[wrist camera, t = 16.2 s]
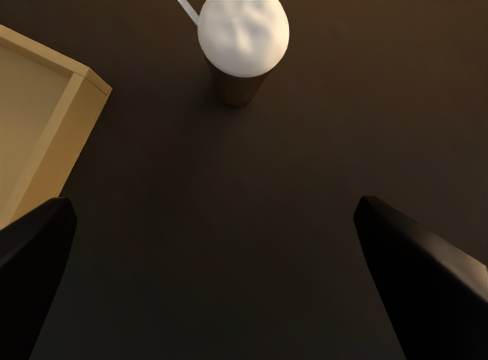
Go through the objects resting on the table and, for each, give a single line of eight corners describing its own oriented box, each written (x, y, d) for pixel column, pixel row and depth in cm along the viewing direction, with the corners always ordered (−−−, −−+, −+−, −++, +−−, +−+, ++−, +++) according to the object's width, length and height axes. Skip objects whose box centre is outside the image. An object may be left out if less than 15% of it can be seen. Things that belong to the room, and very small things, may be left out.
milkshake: (199, 51, 22) (183, -62, 12) (267, 63, 22) (306, -36, 12) (190, 109, 22) (167, 44, 12) (259, 120, 22) (292, 67, 12)
